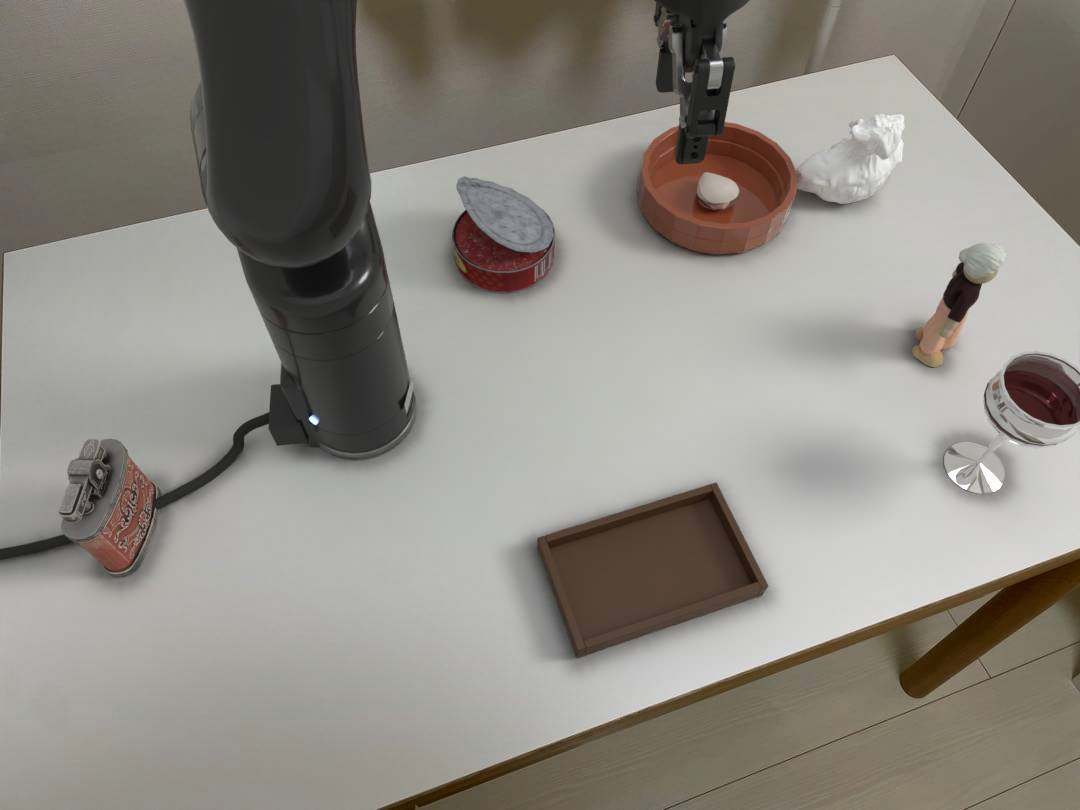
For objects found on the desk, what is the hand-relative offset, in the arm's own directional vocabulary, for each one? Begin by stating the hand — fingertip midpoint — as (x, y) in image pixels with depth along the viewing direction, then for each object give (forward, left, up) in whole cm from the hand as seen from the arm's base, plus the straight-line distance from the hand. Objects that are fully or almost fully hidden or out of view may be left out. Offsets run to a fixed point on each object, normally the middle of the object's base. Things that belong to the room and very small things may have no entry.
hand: (678, 124), depth 68 cm
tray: (-6, -31, -17) cm, 36 cm away
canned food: (-14, +3, -18) cm, 23 cm away
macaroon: (+8, +8, -17) cm, 21 cm away
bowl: (+8, +8, -17) cm, 21 cm away
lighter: (-46, -23, -18) cm, 54 cm away
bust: (+22, +8, -18) cm, 29 cm away
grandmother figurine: (+24, -12, -18) cm, 32 cm away
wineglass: (+23, -25, -18) cm, 38 cm away
